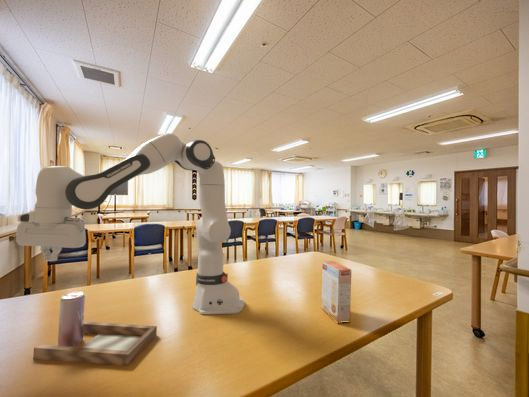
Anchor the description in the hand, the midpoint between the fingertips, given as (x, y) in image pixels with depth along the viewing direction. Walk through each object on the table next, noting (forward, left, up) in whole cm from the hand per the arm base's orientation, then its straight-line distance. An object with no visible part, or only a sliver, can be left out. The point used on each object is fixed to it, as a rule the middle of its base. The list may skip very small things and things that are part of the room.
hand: (50, 260), depth 74 cm
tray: (-17, 0, -25) cm, 31 cm away
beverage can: (-8, 0, -26) cm, 27 cm away
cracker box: (-96, -30, -26) cm, 104 cm away
